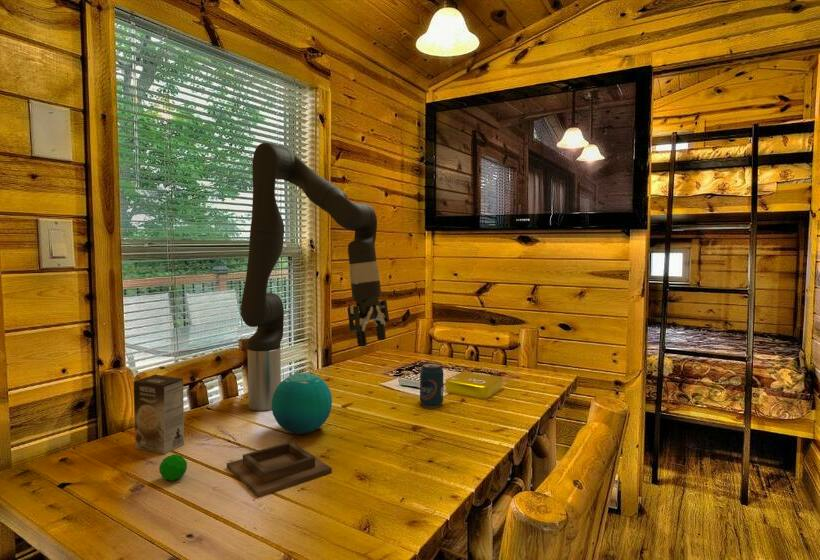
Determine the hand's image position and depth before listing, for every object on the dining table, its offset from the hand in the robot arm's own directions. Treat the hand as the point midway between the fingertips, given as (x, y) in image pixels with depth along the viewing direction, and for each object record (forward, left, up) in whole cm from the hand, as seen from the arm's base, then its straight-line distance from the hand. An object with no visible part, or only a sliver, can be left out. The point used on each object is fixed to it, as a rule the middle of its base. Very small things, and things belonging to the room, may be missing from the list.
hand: (372, 343), depth 125 cm
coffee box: (-22, -46, -22) cm, 55 cm away
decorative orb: (-9, -16, -22) cm, 29 cm away
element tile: (-6, +45, -23) cm, 51 cm away
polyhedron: (-3, -48, -23) cm, 53 cm away
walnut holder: (+7, -30, -22) cm, 38 cm away
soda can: (-4, +24, -22) cm, 33 cm away
